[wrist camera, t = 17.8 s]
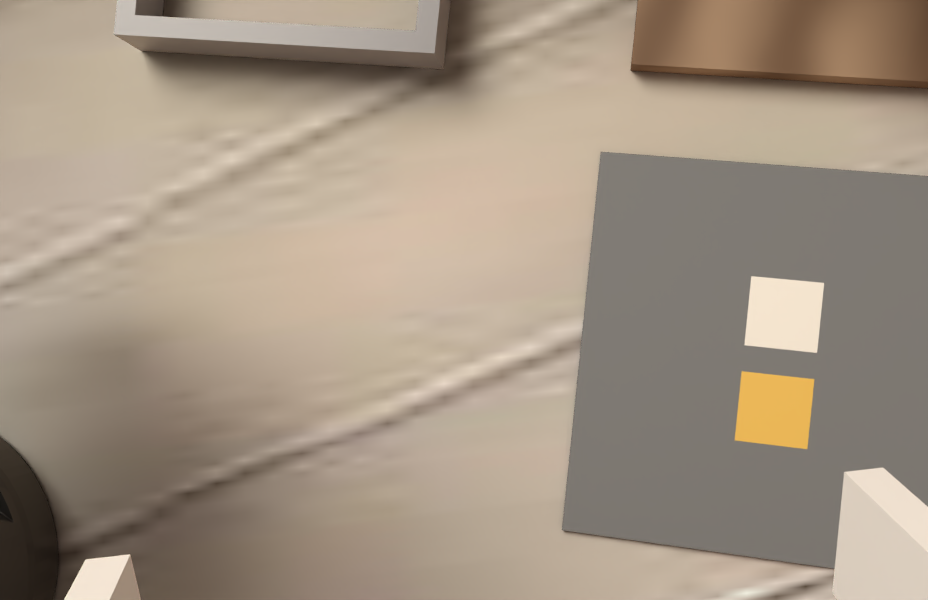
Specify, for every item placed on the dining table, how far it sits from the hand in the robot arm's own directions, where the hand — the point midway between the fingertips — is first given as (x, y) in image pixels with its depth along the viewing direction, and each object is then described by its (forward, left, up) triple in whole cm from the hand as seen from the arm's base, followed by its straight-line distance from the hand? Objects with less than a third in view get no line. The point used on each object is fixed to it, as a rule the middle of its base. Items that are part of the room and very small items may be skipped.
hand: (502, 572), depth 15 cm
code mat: (+10, +4, -24) cm, 27 cm away
